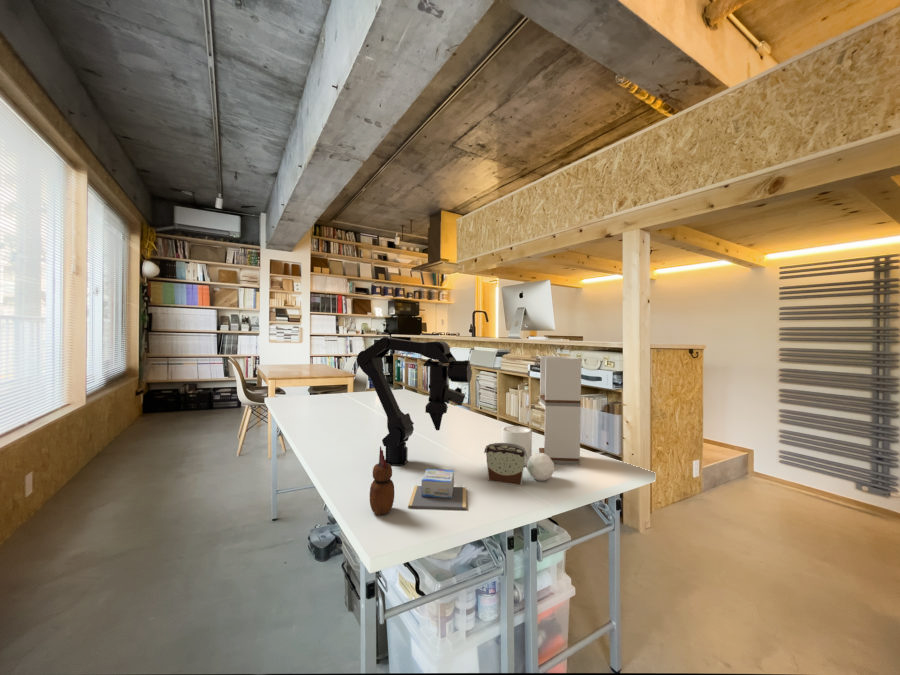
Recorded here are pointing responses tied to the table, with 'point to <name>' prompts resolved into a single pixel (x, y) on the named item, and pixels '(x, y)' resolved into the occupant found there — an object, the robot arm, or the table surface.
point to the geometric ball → (540, 466)
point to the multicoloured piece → (505, 463)
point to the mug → (518, 438)
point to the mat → (439, 500)
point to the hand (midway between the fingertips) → (437, 430)
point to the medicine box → (437, 483)
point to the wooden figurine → (382, 487)
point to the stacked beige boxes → (561, 408)
